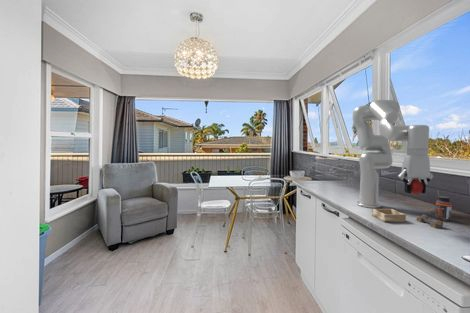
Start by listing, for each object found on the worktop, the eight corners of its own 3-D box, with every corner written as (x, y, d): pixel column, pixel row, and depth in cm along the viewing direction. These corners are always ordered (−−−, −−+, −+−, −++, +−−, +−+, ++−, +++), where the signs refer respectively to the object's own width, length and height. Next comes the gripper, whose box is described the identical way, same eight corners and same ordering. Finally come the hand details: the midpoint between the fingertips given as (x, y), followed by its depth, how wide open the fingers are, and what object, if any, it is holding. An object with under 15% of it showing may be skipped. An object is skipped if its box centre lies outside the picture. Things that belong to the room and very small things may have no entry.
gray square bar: (417, 218, 119) (417, 216, 119) (420, 218, 119) (420, 216, 119) (439, 227, 107) (439, 224, 107) (441, 227, 107) (442, 224, 107)
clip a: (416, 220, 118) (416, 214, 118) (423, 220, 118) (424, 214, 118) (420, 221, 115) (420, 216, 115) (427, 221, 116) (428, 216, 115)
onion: (407, 193, 114) (408, 176, 113) (423, 194, 110) (424, 177, 110) (406, 195, 110) (407, 177, 109) (422, 197, 106) (423, 179, 105)
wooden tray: (371, 215, 125) (372, 209, 125) (391, 215, 125) (391, 208, 125) (384, 222, 115) (385, 214, 115) (405, 222, 115) (405, 214, 115)
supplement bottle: (431, 218, 121) (433, 195, 120) (439, 217, 123) (440, 194, 122) (445, 222, 115) (447, 198, 115) (453, 220, 117) (455, 197, 117)
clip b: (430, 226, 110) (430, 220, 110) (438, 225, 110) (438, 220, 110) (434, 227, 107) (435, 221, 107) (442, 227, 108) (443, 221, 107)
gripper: (429, 152, 113) (426, 190, 114) (392, 152, 112) (390, 191, 113) (443, 153, 105) (440, 194, 106) (404, 153, 105) (402, 194, 106)
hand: (414, 192), depth 110 cm, fingers closed on onion, 5 cm apart
